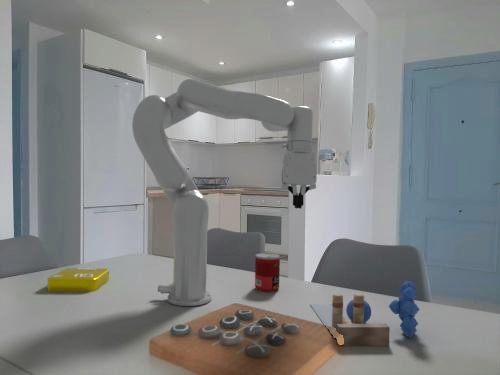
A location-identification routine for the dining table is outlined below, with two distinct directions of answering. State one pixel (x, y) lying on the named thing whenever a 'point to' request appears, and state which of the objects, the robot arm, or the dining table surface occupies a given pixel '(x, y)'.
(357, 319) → the pin right
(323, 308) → the lane mark
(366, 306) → the ball
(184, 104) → the robot arm
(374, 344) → the back wall
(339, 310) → the pin left
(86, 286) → the element tile
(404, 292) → the grapes
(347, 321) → the pin front
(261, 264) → the canned food
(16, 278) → the dining table surface
